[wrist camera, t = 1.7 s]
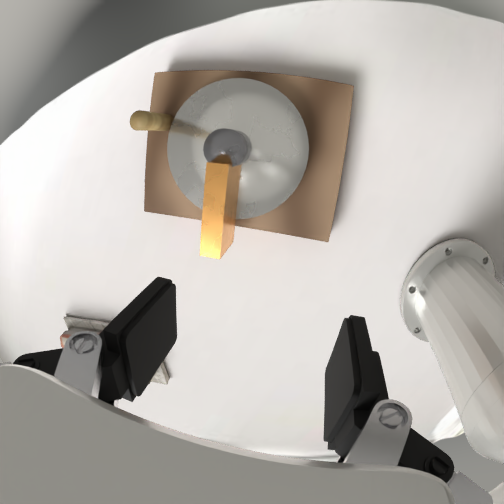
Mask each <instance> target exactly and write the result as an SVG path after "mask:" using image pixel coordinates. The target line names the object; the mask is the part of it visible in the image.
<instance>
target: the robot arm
mask: <svg viewBox="0 0 504 504" xmlns="http://www.w3.org/2000/svg"><path fill="white" fill-rule="evenodd" d="M400 309H401V315H402V318H403V320H404V323H405V325H406V327H407V328H408V330H409V331H410V332H411V334H412V335H413V336H415V337H417V338H418V339H420V340H423V341H426V342H429V343H430V345H431V347H432V349H433V352H434V354H435V356H436V358H437V361H438V363H439V365H440V368H441V370H442V372H443V375H444V377H445V379H446V382H447V384H448V387H449V389H450V392H451V395H452V397H453V400H454V403H455V405H456V408H457V411H458V414H459V416H460V419H461V422H462V425H463V428H464V431H465V434H466V437H467V439H468V441H469V443H470V445H471V446H472V448H473V449H474V450H475V451H476V452H477V453H478V454H480V455H481V456H483V457H485V458H488V459H491V460H494V461H497V462H500V463H503V464H504V286H503V285H502V284H501V283H500V282H499V281H498V280H497V279H496V278H495V269H494V264H493V262H492V259H491V257H490V256H489V254H488V253H487V251H486V250H485V249H483V248H482V247H481V246H480V245H478V244H477V243H475V242H473V241H471V240H467V239H452V240H447V241H444V242H442V243H440V244H437V245H436V246H434V247H433V248H431V249H430V250H428V251H427V252H426V253H425V254H424V255H423V256H422V257H421V258H419V260H418V261H417V262H416V263H415V265H414V266H413V267H412V269H411V271H410V272H409V274H408V276H407V278H406V280H405V283H404V285H403V288H402V292H401V297H400ZM176 339H177V323H176V286H175V284H172V280H170V279H166V278H162V277H157V278H156V279H155V280H154V281H153V282H152V283H151V284H149V285H148V286H147V287H146V288H145V289H144V290H143V291H142V292H141V293H140V294H139V295H138V296H137V297H136V298H135V299H134V300H133V301H132V302H131V303H130V304H129V305H128V306H127V307H126V308H125V309H123V310H122V311H121V312H120V313H119V314H118V315H117V316H116V317H115V318H114V319H113V320H112V321H111V322H110V323H109V324H108V325H107V326H106V327H105V328H104V329H103V331H102V332H101V333H100V334H99V335H98V334H97V333H94V332H92V331H80V332H76V333H74V334H72V335H71V336H70V337H69V338H68V339H67V341H66V342H65V345H64V348H62V349H55V350H49V351H43V352H36V353H29V354H25V355H22V356H20V357H18V358H17V359H16V360H15V361H14V363H13V364H11V362H6V363H0V504H504V481H503V482H502V483H501V484H499V485H498V486H497V487H496V488H495V489H493V490H492V491H490V492H489V493H488V492H486V491H485V490H484V489H482V488H481V487H480V486H478V485H477V484H476V483H474V482H473V481H472V480H470V479H469V478H468V477H467V476H465V475H464V474H463V473H461V472H460V471H459V472H458V473H455V472H454V465H453V461H452V460H451V458H450V457H449V456H448V455H447V454H446V453H444V452H443V451H442V450H440V449H439V448H438V447H436V446H435V445H433V444H432V443H431V442H429V441H428V440H427V439H425V438H424V437H423V436H421V435H420V434H419V433H417V432H416V431H415V430H413V429H412V428H411V424H412V415H411V412H410V410H409V409H408V408H407V407H406V406H405V405H404V404H403V403H401V402H399V401H396V400H391V399H389V398H388V393H387V388H386V383H385V378H384V374H383V369H382V365H381V360H380V356H379V353H378V352H376V351H372V347H371V342H370V338H369V334H368V329H367V325H366V321H365V318H364V317H359V316H353V315H350V317H349V318H344V320H343V323H342V326H341V329H340V332H339V335H338V338H337V340H336V343H335V346H334V349H333V351H332V354H331V357H330V359H329V362H328V365H327V367H326V371H325V413H324V441H327V442H328V449H329V450H335V452H336V453H337V454H338V455H339V458H338V460H337V461H336V462H326V461H316V460H306V459H298V458H290V457H284V456H277V455H271V454H266V453H260V452H255V451H250V450H246V449H241V448H237V447H232V446H228V445H224V444H220V443H216V442H213V441H209V440H205V439H202V438H198V437H195V436H192V435H188V434H185V433H182V432H179V431H176V430H173V429H170V428H167V427H164V426H162V425H159V424H156V423H154V422H151V421H148V420H146V419H143V418H141V417H138V416H136V415H133V414H131V413H128V412H126V411H124V410H121V409H119V408H118V400H119V399H121V398H124V399H126V400H129V401H131V402H133V400H134V399H135V397H136V396H140V395H141V394H142V393H143V391H144V390H145V388H146V387H147V385H148V383H149V382H150V380H151V379H152V377H153V376H154V374H155V373H156V371H157V370H158V368H159V367H160V365H161V363H162V362H163V360H164V359H165V357H166V356H167V354H168V353H169V351H170V350H171V348H172V347H173V345H174V344H175V342H176Z"/></svg>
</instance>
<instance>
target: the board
mask: <svg viewBox="0 0 504 504" xmlns="http://www.w3.org/2000/svg"><path fill="white" fill-rule="evenodd" d="M231 78H246V79H253V80H257V81H260V82H263V83H266V84H268V85H270V86H272V87H274V88H275V89H277V90H279V91H280V92H281V93H282V94H284V95H285V96H286V97H287V98H288V99H289V100H290V101H291V102H292V103H293V104H294V106H295V107H296V109H297V110H298V111H299V113H300V115H301V117H302V119H303V121H304V124H305V127H306V130H307V135H308V142H309V154H308V161H307V166H306V169H305V172H304V175H303V177H302V179H301V181H300V183H299V185H298V187H297V188H296V189H295V191H294V192H293V193H292V194H291V196H290V197H289V198H288V199H287V200H286V201H285V202H283V203H282V204H281V205H280V206H278V207H277V208H275V209H273V210H272V211H270V212H268V213H265V214H263V215H260V216H257V217H253V218H247V219H235V226H240V227H246V228H252V229H258V230H264V231H269V232H275V233H281V234H286V235H292V236H297V237H303V238H308V239H314V240H319V241H325V242H329V237H330V232H331V227H332V223H333V218H334V213H335V207H336V202H337V197H338V191H339V186H340V180H341V174H342V169H343V162H344V156H345V150H346V143H347V136H348V129H349V122H350V114H351V106H352V97H353V88H354V86H352V85H348V84H343V83H338V82H332V81H327V80H321V79H315V78H308V77H301V76H294V75H285V74H276V73H265V72H251V71H227V70H194V71H170V72H157V73H155V76H154V83H153V90H152V98H151V107H150V112H148V111H136V112H134V113H133V114H132V116H131V118H130V125H131V127H132V128H133V129H134V130H148V138H147V152H146V170H145V202H144V211H145V212H152V213H159V214H165V215H172V216H178V217H185V218H191V219H197V220H202V212H203V210H202V209H200V208H199V207H197V206H196V205H194V204H193V203H192V202H191V201H190V200H189V199H188V198H187V197H186V196H185V195H184V194H183V193H182V191H181V190H180V189H179V187H178V186H177V184H176V182H175V180H174V178H173V176H172V173H171V170H170V167H169V162H168V155H167V142H168V135H169V131H170V128H171V125H172V122H173V120H174V118H175V116H176V114H177V112H178V111H179V109H180V108H181V106H182V105H183V104H184V103H185V102H186V100H187V99H188V98H189V97H190V96H192V95H193V94H194V93H195V92H197V91H198V90H200V89H201V88H203V87H205V86H207V85H209V84H211V83H214V82H217V81H220V80H224V79H231Z"/></svg>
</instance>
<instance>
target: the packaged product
mask: <svg viewBox="0 0 504 504" xmlns="http://www.w3.org/2000/svg"><path fill="white" fill-rule="evenodd" d="M64 320H65V323H66V325H67V328H68V329H69V330H68V331H65V332H64V333H63V334H62V335H61V336H60V341H61V347H62V348H64V345H65V342H66V341H67V339H68V338H69V337H70V336H71V335H72V334H74V333H76V332H80V331H92V332H94V333H97V334H98V335H99V334H100V333H101V332H102V331H103V329H104V328H105V327H106V326H107V325H108V324H109V322H102V321H98V320H86V319H80V318H74V317H67V316H66V317H64ZM168 381H169V376H168V374H167V371H166V368H165V365H164V363H163V362H162V363H161V365H160V367H159V368H158V370H157V371H156V373H155V374H154V376H153V377H152V379H151V380H150V382H156V383H162V384H168ZM150 382H149V383H148V384H150Z"/></svg>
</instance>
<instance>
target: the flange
mask: <svg viewBox="0 0 504 504" xmlns="http://www.w3.org/2000/svg"><path fill="white" fill-rule="evenodd" d="M308 154H309V142H308V135H307V130H306V127H305V124H304V121H303V119H302V117H301V115H300V113H299V111H298V110H297V109H296V107H295V106H294V104H293V103H292V102H291V101H290V100H289V99H288V98H287V97H286V96H285V95H284V94H282V93H281V92H280V91H279V90H277V89H275V88H274V87H272V86H270V85H268V84H266V83H263V82H260V81H257V80H253V79H246V78H231V79H224V80H220V81H217V82H214V83H211V84H209V85H207V86H205V87H203V88H201V89H200V90H198V91H197V92H195V93H194V94H193V95H192V96H190V97H189V98H188V99H187V100H186V102H185V103H184V104H183V105H182V106H181V108H180V109H179V111H178V112H177V114H176V116H175V118H174V120H173V122H172V125H171V128H170V131H169V135H168V142H167V155H168V162H169V167H170V170H171V173H172V176H173V178H174V180H175V182H176V184H177V186H178V187H179V189H180V190H181V191H182V193H183V194H184V195H185V196H186V197H187V198H188V199H189V200H190V201H191V202H192V203H193V204H194V205H196V206H197V207H199V208H200V209H202V210H203V212H202V227H201V244H200V256H205V257H211V258H216V259H221V257H222V256H223V255H224V253H225V252H226V251H227V249H228V248H229V247H230V245H231V244H232V243H233V239H234V229H235V219H247V218H253V217H257V216H260V215H263V214H265V213H268V212H270V211H272V210H273V209H275V208H277V207H278V206H280V205H281V204H282V203H283V202H285V201H286V200H287V199H288V198H289V197H290V196H291V194H292V193H293V192H294V191H295V189H296V188H297V187H298V185H299V183H300V181H301V179H302V177H303V175H304V172H305V169H306V166H307V161H308Z"/></svg>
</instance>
